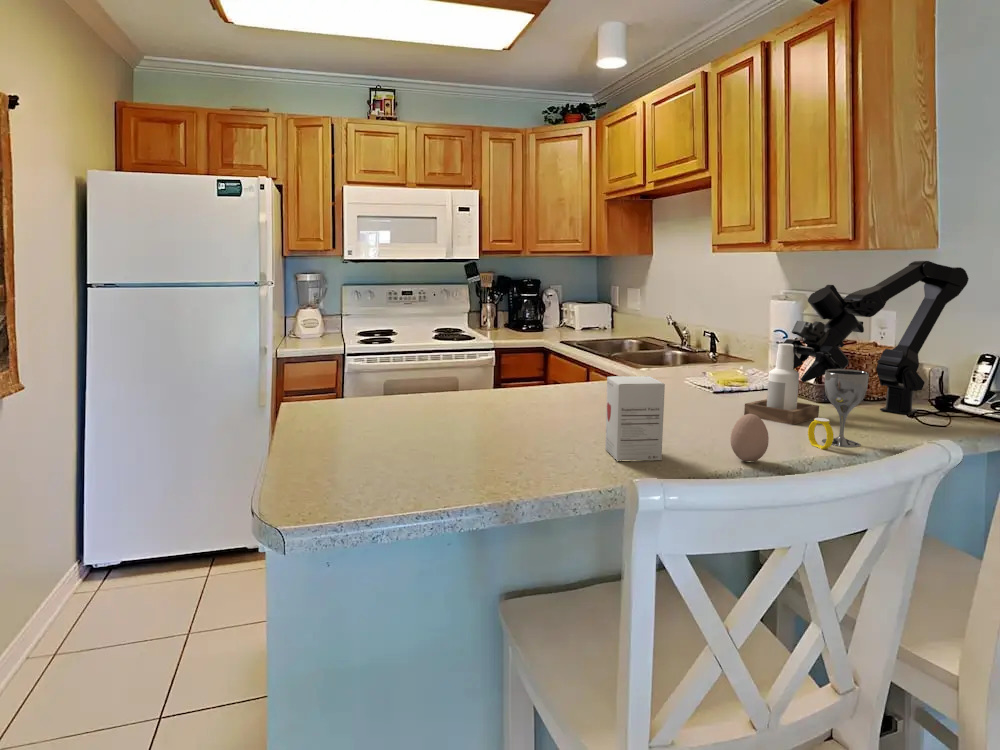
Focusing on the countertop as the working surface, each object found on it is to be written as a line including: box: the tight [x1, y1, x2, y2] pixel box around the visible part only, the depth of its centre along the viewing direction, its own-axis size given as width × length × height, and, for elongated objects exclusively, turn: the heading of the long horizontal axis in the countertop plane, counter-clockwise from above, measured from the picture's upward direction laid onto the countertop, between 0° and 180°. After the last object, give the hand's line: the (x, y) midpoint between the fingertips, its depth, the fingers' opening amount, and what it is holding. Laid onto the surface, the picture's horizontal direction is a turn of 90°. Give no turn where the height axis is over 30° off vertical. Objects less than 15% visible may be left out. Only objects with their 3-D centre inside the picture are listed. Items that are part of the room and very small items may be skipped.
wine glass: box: [821, 368, 870, 448], centre depth 134 cm, size 8×8×15 cm
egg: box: [730, 414, 770, 462], centre depth 120 cm, size 7×7×9 cm
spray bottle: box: [766, 343, 800, 411], centre depth 158 cm, size 7×7×18 cm
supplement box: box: [605, 375, 666, 461], centre depth 124 cm, size 9×9×15 cm
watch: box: [807, 417, 835, 450], centre depth 131 cm, size 6×3×6 cm, turn 12°
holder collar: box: [743, 398, 820, 425], centre depth 160 cm, size 12×12×3 cm
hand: (790, 377), depth 159 cm, fingers open, 9 cm apart
